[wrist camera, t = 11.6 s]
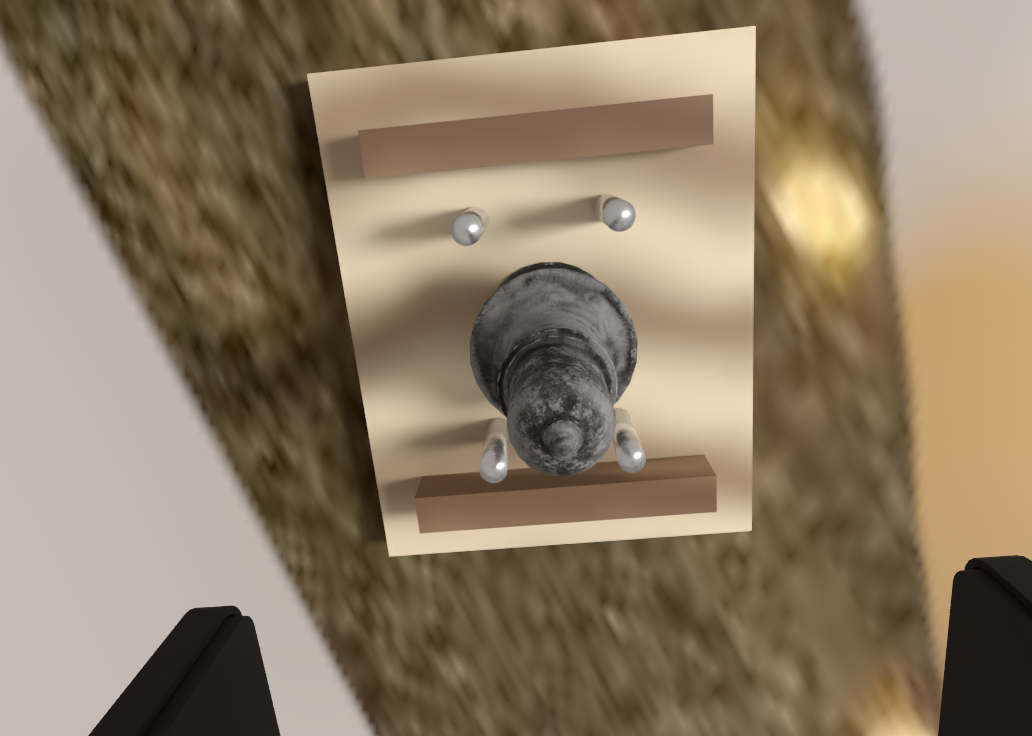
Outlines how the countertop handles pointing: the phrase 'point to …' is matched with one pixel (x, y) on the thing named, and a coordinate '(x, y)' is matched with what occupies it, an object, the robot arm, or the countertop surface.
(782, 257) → the countertop surface
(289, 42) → the countertop surface
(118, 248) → the countertop surface
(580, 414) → the weathered chess pawn
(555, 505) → the pin stand
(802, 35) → the countertop surface
